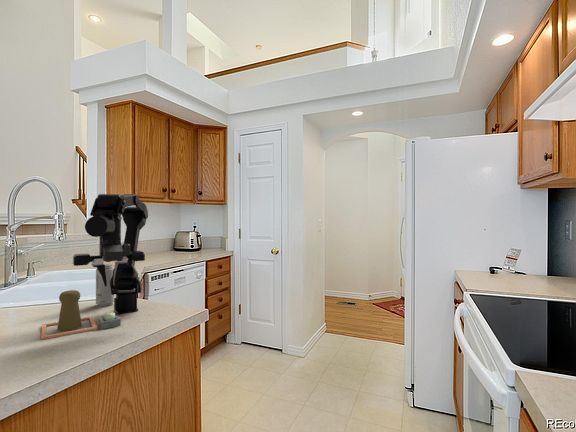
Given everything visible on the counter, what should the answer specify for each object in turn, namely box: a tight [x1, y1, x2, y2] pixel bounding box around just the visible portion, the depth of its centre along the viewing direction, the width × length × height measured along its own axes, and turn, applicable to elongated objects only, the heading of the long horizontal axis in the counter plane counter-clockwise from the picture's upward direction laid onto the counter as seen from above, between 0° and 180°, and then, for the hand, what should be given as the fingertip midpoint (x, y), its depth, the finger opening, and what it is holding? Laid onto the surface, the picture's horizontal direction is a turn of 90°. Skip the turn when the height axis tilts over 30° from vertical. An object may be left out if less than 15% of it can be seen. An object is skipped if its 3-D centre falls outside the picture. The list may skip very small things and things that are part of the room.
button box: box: [98, 314, 121, 330], centre depth 96 cm, size 5×5×2 cm
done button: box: [104, 312, 116, 321], centre depth 96 cm, size 3×3×2 cm
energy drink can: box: [95, 263, 115, 307], centre depth 119 cm, size 6×6×15 cm
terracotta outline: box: [40, 315, 98, 341], centre depth 94 cm, size 13×13×1 cm
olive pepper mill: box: [56, 289, 83, 332], centre depth 94 cm, size 6×6×11 cm
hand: (110, 285), depth 96 cm, fingers closed
